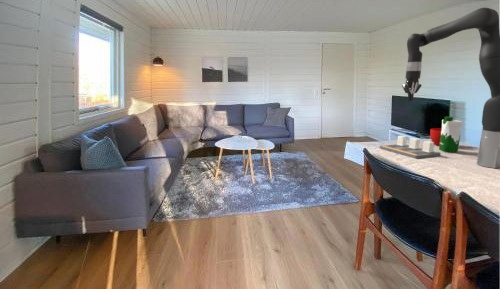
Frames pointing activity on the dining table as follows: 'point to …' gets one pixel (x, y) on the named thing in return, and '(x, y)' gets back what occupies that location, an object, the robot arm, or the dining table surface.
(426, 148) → the block
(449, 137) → the milk carton
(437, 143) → the ceramic cup
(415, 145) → the block
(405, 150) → the panel
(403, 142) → the block
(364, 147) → the dining table surface
